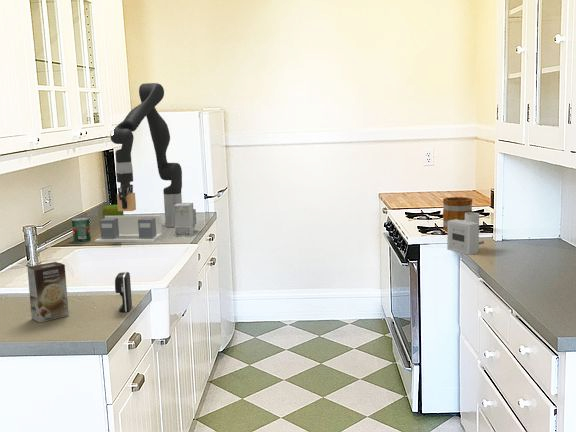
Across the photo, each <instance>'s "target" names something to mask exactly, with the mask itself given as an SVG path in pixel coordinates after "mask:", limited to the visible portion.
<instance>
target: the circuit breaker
mask: <svg viewBox="0 0 576 432" xmlns="http://www.w3.org/2000/svg"><path fill="white" fill-rule="evenodd" d="M174 207H175V208H174V214H175V227H174V234H175V237H191V236H193V235H194V234H195V232H196V230H195V225H196V224H197V210H196V208H194V203H193V202H182V203H177V204H176V205H174Z"/></svg>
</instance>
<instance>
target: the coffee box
mask: <svg viewBox="0 0 576 432" xmlns="http://www.w3.org/2000/svg"><path fill="white" fill-rule="evenodd" d="M26 269H27V279H28V288H29V289H28V291H29V300H30V301H29V303H30V314H31V319H32V320H34V321H36V322H38V323H45V322H49V321H53V320H57V319H61V318H64V317H69V316H70V315H69V314H70V313H69V303H68V302H69V301H68V289H67V278H66V265H65V264H63V263H61V262H58V261H54V262H47V263H42V264H36V265H30V266H27V267H26Z"/></svg>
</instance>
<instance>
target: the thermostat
mask: <svg viewBox="0 0 576 432" xmlns="http://www.w3.org/2000/svg"><path fill="white" fill-rule="evenodd" d="M446 235H447V238H446V239H447V240H446V241H447V246H446V249H447V251H452V252H456V253H459V254H465V255H468V256H470V255H471V256H472V255H476V254H478V253H479V250H480V249H479V247H480V245H484V244H485V242H484V241H483V240H481V241H480V240H479V239H480V213H479V212H472V213H465V220H457V219H455V220H449V221H448V232H447V233H446Z"/></svg>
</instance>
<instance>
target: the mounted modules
mask: <svg viewBox="0 0 576 432" xmlns="http://www.w3.org/2000/svg"><path fill="white" fill-rule="evenodd" d="M99 224H100V225H99V227H100V228H99V229H100V236H101V238H115V237H117V236H119V227H118V218H104V219H103V218H102V219H100V220H99ZM138 229H139V238H153V237H154V236H156V220H155V218H141V219H139V220H138Z"/></svg>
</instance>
